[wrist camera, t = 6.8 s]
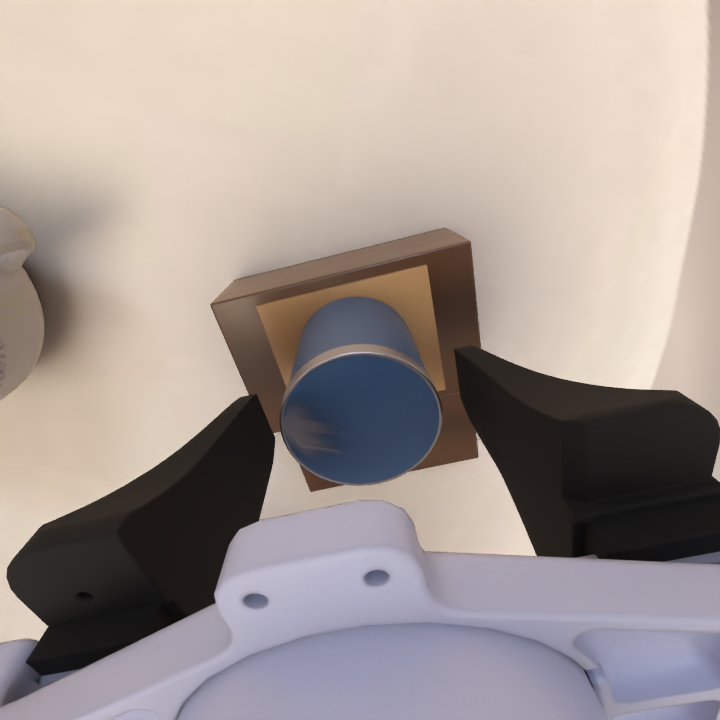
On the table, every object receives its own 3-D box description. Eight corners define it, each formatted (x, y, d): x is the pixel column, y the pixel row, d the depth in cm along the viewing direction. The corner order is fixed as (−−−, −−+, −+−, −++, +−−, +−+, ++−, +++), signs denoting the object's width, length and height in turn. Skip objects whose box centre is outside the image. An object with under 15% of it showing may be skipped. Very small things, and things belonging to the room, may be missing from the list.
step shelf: (473, 445, 25) (496, 494, 21) (311, 478, 25) (306, 532, 22) (446, 227, 18) (473, 241, 15) (233, 279, 19) (207, 305, 15)
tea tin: (421, 386, 18) (452, 469, 13) (316, 409, 18) (306, 499, 13) (402, 282, 15) (430, 333, 10) (282, 310, 16) (255, 373, 11)
